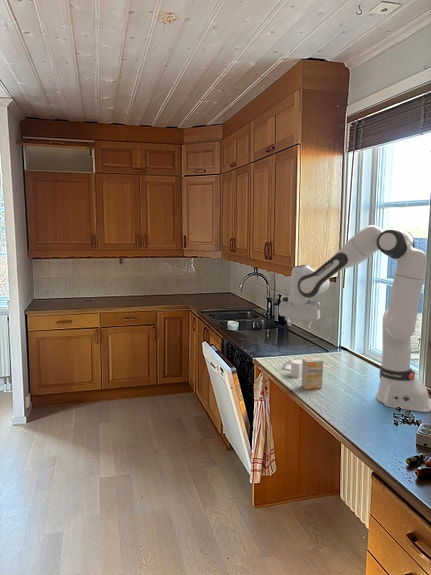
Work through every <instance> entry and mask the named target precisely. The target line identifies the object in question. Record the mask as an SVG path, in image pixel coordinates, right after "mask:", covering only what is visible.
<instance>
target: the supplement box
mask: <svg viewBox="0 0 431 575" xmlns="http://www.w3.org/2000/svg"><path fill="white" fill-rule="evenodd" d="M323 372H324V360H323V359H321V358H319V357H315V358H302V376H301V387H302V388H303V389H304V388H305V389H304V390H315V389H323V376H324V375H323V374H324V373H323Z"/></svg>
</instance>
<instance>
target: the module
mask: <svg viewBox="0 0 431 575" xmlns="http://www.w3.org/2000/svg"><path fill="white" fill-rule="evenodd" d="M302 361H303V359H302V360H301V359H295V360H293V361H291V371H290V377H292V378H296V377H297V378H296V379H300V378H302Z"/></svg>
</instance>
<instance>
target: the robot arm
mask: <svg viewBox="0 0 431 575" xmlns="http://www.w3.org/2000/svg"><path fill="white" fill-rule="evenodd" d="M415 244H416V241H415V237H414V235H413V234H412V233H410V232H409V231H407V230H404V229H401V228H393V227H392V228H391V227H390V228H386V229H384V230H383V229H382V228H380V227H379V226H378V225H373V224H372V225H367V226H366V227H365V228H363V229H361V230H360V231H358V232H357V233H356V234H354V235H353V236H352V237H351V238H350V239H349V240H347V242H346V243H345V244H343V246H342V247H341V248H339V250H338V251H337V252H336V253H335V254H334V255H333V256H332V257H331V258H329V259H328V260H327V261H326V262H325V263H323V264H322V265H321V266H320V267H318V268H317V269H316V270H315V269H313V268H311V267H310V265H309V264H302V265H295V266H293V267H292V270H291V272H290V273H291V274H290V286H291V287H290V292H289V293H290V294H287V295H284V296H281V297H280V298H279V299H280V303H279V304H278V315H279V316H280V317H285V318H284V319H285V320H286V323H287V326H288V327H291V326H292V325H293V322H292V321H291V320H290V319H291V318H294V319H300V320H301V319H302V320H307V321H308V324H306V325H305V329H308V330H309V329H311V325H312V323H313V321H314V322H315V321H318V320H320V318H321V303H320V301H318V300H314V299H313V300H312V299H310V298H313V297H315V296H317V295H321V294H322V293H326V292H327V291H328V290H329V288H330V286H331V281H330V279H331V278H332V277H333V276H334V275H335V274H337V273H339V272H341V271H343V270H345V269H348V268H352V267H355V266H357V265H360V264H361V263H363V262H365V261H366V260H367V259H368V258H370V257H371V256H372V255H373V254H374V253H376V252H378V251H380V252H381V253H382V254H384V255H385V256H388V257H389V258H390V259H391V258H392V259H394V260H396V269H395V273H394V276H393V277H394V278H393V281H392V286H391V290H390V295H389V296H390V297H389V303H388V308H387V309H386V310H384V311H385V312H384V313H383V316H382V348H381V349H382V352H381V354H382V355H381V364H380V367H379V368H380V369H379V384H378V388H377V392H376V393H375V394H376V395H375V399H376V400H377V401H379V402H380V403H382V404H383V405H384V406H385V407H387V408H394V409H398V408H397V407H400V408H401V409H400V410H406V411H413V412H419V413H430V412H431V398H429V392H428V389H427V388H426V387H425V386H424V385H423V384H422V383H421V382H419V381H418V380H417V378H415V375H416V370H415V369H414V370H413V369H412V368H411V359H412V358H411V357H412V356H411V355H412V346H411V344H412V343H411V337H412V336H413V335H414V334H415V330H416V323H417V317H418V312H419V305H420V303H419V302H420V297H421V294H422V290H423V285H424V282H425V278H426V272H427V262H428V261H427V260H428V259H427V258H428V257H427V255H426V253H425V252H424V251H422V250H421V249H417V248H415Z"/></svg>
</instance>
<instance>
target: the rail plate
mask: <svg viewBox="0 0 431 575" xmlns="http://www.w3.org/2000/svg"><path fill="white" fill-rule="evenodd" d="M291 362H292V360H288V361H286V362H284V363H283V364H282V365H283V367H282V370H286V371H290V372H291Z"/></svg>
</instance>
